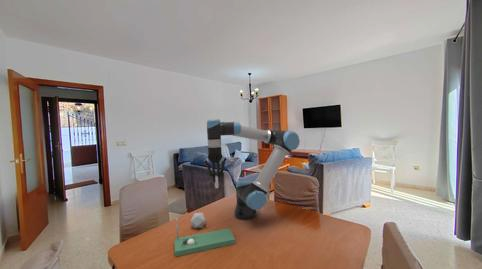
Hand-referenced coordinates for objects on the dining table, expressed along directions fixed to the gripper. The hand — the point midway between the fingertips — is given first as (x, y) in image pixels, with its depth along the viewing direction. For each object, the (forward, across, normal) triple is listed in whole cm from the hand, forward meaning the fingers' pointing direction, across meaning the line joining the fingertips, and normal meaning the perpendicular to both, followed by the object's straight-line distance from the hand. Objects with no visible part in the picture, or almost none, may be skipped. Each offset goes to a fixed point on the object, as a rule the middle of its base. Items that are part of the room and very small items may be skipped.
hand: (216, 187), depth 120 cm
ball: (+24, +17, +9) cm, 31 cm away
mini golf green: (+26, +10, +9) cm, 29 cm away
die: (+26, +10, -10) cm, 30 cm away
